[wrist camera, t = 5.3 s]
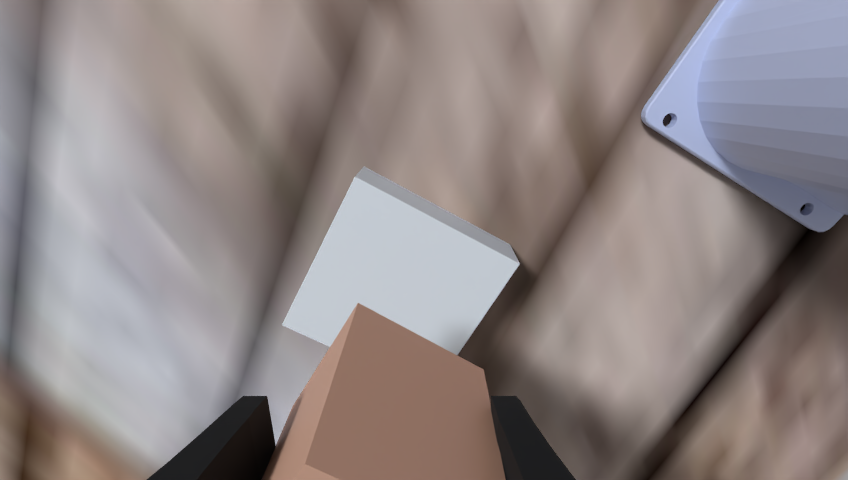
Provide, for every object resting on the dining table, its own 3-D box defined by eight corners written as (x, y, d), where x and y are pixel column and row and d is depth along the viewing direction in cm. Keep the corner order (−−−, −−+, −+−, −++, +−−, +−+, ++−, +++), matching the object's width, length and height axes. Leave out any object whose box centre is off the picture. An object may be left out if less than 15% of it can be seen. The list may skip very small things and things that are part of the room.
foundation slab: (508, 241, 18) (519, 263, 16) (431, 358, 20) (431, 393, 18) (365, 164, 17) (355, 176, 15) (299, 296, 19) (281, 325, 17)
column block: (483, 369, 12) (521, 560, 7) (410, 461, 13) (400, 678, 8) (357, 302, 11) (305, 463, 6) (292, 406, 12) (206, 607, 7)
